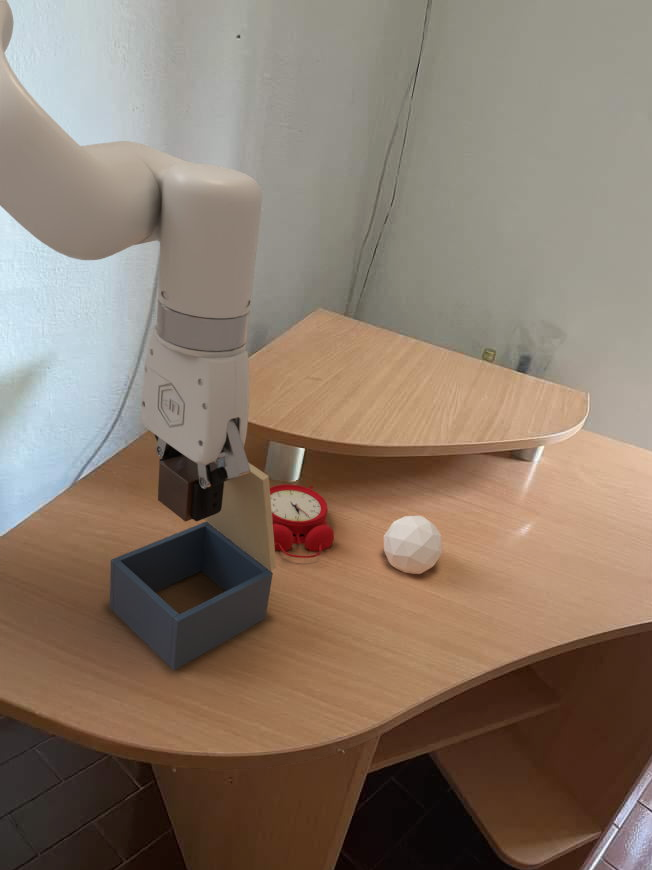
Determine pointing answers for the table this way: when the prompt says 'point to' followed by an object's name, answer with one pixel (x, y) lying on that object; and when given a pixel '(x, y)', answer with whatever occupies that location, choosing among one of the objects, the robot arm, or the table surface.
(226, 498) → the lid
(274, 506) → the alarm clock
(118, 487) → the table surface
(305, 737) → the table surface
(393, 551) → the geometric ball
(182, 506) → the block
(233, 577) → the chest
